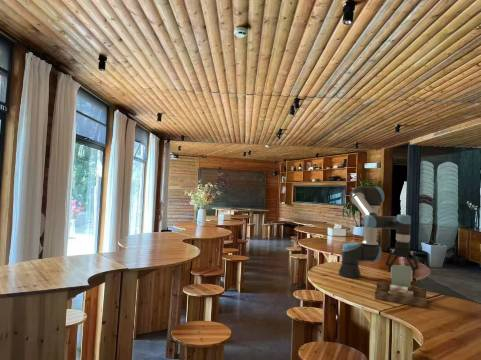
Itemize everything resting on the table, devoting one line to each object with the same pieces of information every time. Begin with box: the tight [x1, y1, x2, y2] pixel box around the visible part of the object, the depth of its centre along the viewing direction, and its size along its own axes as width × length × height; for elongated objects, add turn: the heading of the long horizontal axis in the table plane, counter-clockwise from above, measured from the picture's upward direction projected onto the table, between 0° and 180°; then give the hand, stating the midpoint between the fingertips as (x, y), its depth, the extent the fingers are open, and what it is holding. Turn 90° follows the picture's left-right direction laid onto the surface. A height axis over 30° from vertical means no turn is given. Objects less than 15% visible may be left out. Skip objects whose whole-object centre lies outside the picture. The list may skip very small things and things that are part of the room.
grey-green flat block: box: [391, 263, 412, 288], centre depth 200 cm, size 10×2×16 cm, turn 64°
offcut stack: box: [388, 284, 413, 297], centre depth 194 cm, size 13×6×6 cm, turn 64°
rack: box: [374, 280, 428, 309], centre depth 196 cm, size 26×15×6 cm, turn 64°
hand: (401, 279), depth 200 cm, fingers closed on grey-green flat block, 10 cm apart
